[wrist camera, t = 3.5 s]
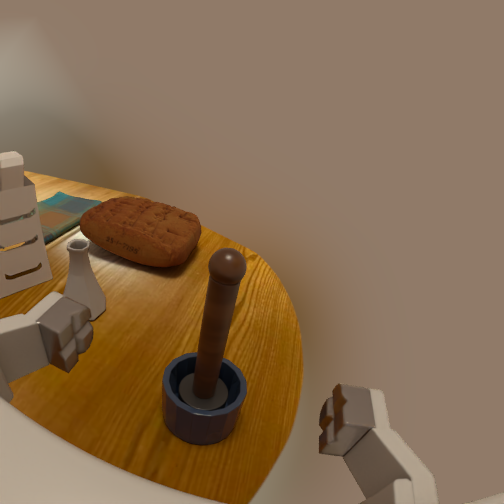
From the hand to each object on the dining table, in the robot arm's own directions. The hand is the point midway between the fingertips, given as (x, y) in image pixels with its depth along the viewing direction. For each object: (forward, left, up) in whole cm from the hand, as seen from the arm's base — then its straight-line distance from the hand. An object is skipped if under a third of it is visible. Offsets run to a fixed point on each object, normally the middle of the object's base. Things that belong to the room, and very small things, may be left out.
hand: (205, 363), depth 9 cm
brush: (+11, -5, -21) cm, 24 cm away
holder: (+11, -5, -22) cm, 25 cm away
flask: (+31, +7, -22) cm, 38 cm away
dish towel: (+64, +17, -22) cm, 69 cm away
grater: (+40, +20, -22) cm, 49 cm away
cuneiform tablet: (+49, -4, -22) cm, 54 cm away
